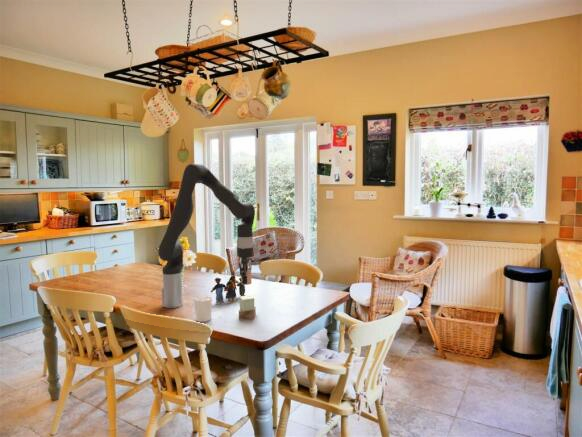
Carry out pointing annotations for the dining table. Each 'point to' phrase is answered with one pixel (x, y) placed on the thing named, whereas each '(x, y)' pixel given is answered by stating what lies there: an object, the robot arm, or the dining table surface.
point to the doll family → (228, 290)
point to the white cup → (203, 308)
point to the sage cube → (246, 303)
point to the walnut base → (247, 314)
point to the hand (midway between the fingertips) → (246, 282)
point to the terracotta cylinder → (247, 277)
